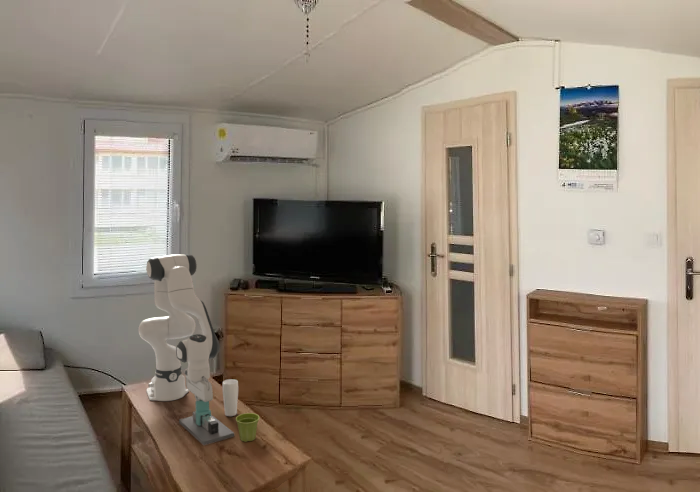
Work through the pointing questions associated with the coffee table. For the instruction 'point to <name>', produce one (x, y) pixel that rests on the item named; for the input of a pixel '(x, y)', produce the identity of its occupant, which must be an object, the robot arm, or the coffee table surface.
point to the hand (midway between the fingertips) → (199, 405)
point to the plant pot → (247, 426)
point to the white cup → (230, 396)
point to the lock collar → (201, 410)
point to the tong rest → (202, 433)
